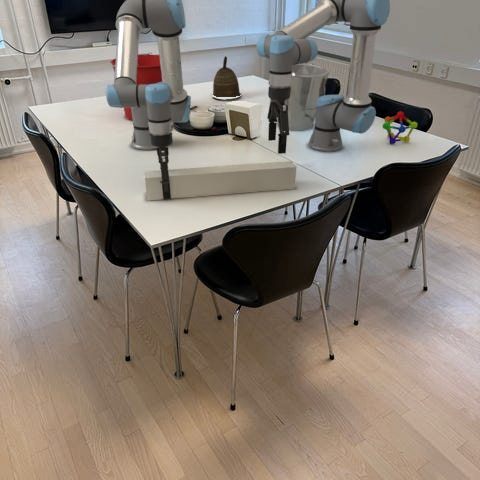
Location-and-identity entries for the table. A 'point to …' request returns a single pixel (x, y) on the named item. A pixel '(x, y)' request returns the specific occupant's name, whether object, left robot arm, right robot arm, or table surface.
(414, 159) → the table surface
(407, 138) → the educational toy
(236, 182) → the beam
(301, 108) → the bucket
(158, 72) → the bucket
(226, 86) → the bell
